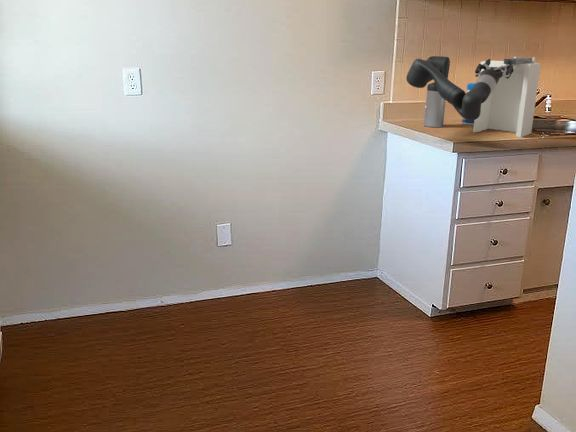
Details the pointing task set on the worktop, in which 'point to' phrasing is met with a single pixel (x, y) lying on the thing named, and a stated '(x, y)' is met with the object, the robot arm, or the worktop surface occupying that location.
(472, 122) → the beverage bottle
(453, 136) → the worktop surface
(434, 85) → the robot arm
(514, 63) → the bar
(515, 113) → the shelf
